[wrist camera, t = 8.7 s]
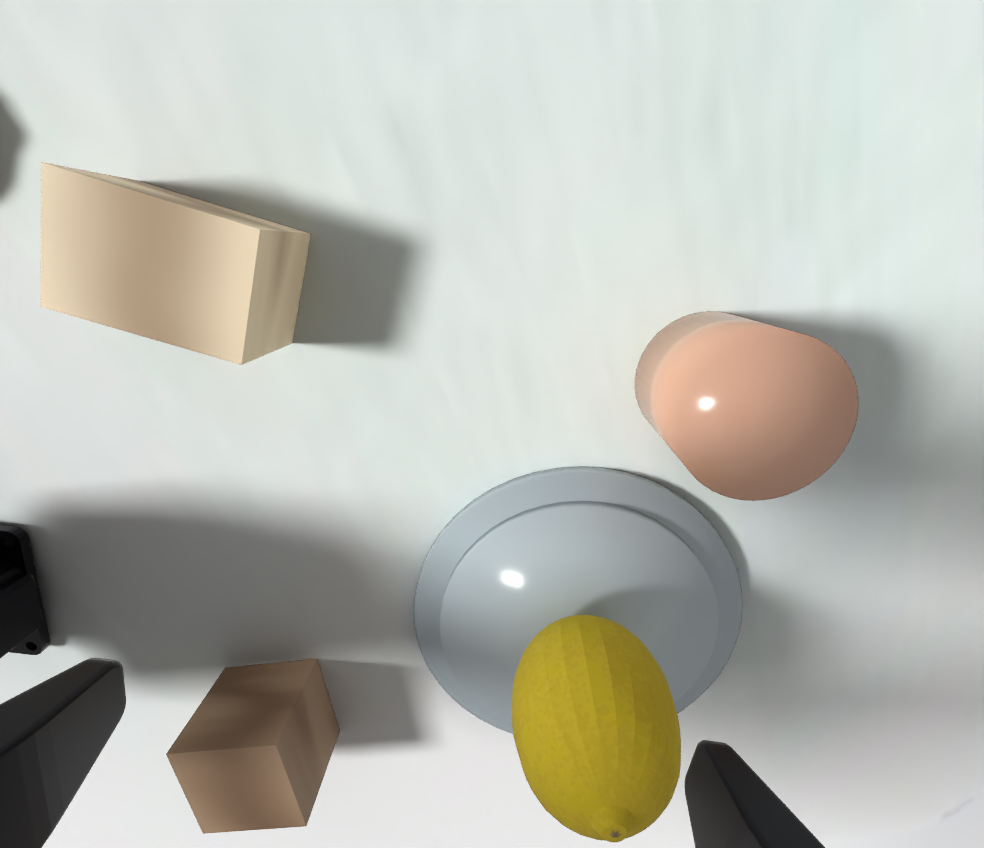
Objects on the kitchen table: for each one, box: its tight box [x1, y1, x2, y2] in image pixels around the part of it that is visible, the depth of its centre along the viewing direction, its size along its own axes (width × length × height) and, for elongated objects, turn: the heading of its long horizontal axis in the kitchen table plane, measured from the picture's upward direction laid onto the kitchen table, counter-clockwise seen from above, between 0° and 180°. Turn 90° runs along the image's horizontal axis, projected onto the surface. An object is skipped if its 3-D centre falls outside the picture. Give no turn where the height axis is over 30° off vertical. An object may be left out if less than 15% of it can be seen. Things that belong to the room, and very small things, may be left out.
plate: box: [414, 467, 742, 734], centre depth 22 cm, size 14×14×1 cm
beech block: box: [41, 162, 311, 365], centre depth 17 cm, size 6×4×4 cm, turn 73°
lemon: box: [511, 615, 681, 842], centre depth 18 cm, size 6×6×8 cm
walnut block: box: [166, 659, 340, 833], centre depth 23 cm, size 4×4×4 cm
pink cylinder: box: [635, 311, 858, 501], centre depth 17 cm, size 5×5×5 cm
